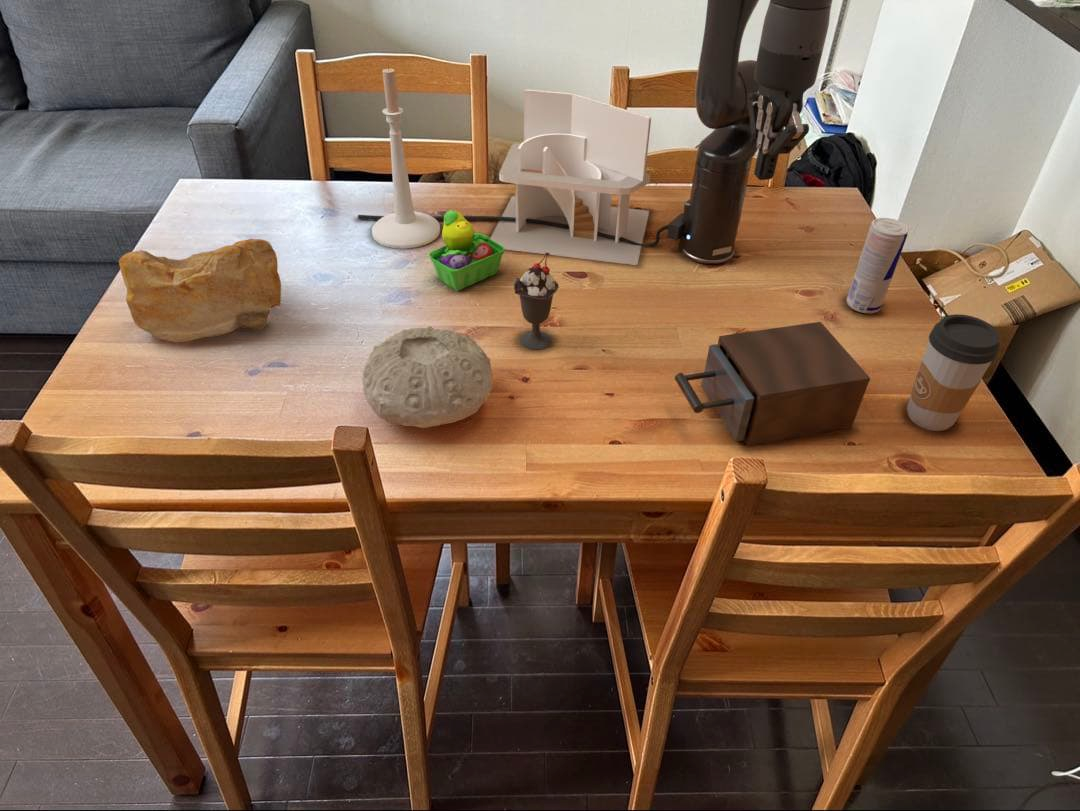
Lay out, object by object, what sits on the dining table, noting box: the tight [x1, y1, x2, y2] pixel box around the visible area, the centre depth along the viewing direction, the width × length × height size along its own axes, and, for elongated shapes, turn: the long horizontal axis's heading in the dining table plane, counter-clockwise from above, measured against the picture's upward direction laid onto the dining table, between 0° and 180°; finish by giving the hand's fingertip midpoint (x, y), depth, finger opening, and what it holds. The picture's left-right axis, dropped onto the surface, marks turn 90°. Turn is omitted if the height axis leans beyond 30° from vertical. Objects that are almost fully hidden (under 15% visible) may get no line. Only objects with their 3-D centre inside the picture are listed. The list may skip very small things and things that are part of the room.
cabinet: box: [717, 321, 871, 448], centre depth 109 cm, size 16×13×9 cm
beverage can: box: [846, 217, 910, 314], centre depth 127 cm, size 6×6×15 cm
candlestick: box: [371, 66, 441, 250], centre depth 139 cm, size 13×13×30 cm
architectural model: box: [489, 89, 652, 266], centre depth 142 cm, size 28×21×23 cm
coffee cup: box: [906, 314, 1001, 432], centre depth 106 cm, size 8×8×15 cm
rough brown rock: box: [118, 238, 282, 343], centre depth 123 cm, size 23×17×15 cm
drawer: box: [674, 343, 758, 442], centre depth 108 cm, size 20×12×7 cm, turn 104°
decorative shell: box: [361, 326, 493, 429], centre depth 108 cm, size 18×18×10 cm
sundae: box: [513, 253, 560, 351], centre depth 118 cm, size 7×7×15 cm
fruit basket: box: [428, 209, 506, 292], centre depth 133 cm, size 11×9×11 cm
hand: (763, 177), depth 106 cm, fingers closed
